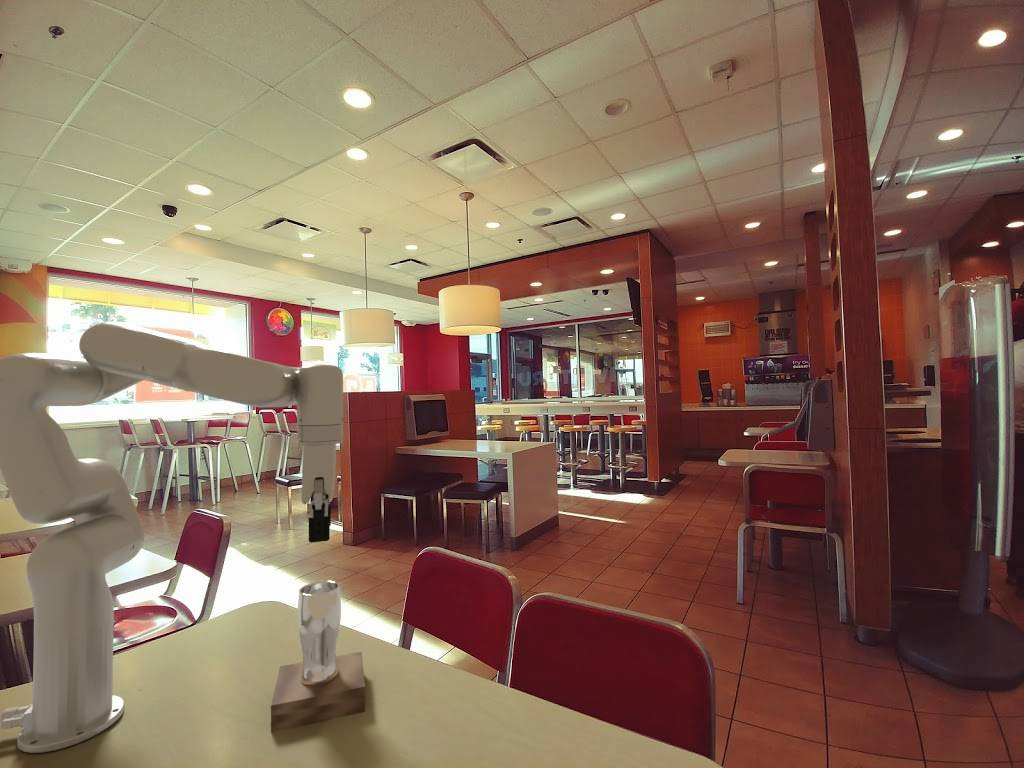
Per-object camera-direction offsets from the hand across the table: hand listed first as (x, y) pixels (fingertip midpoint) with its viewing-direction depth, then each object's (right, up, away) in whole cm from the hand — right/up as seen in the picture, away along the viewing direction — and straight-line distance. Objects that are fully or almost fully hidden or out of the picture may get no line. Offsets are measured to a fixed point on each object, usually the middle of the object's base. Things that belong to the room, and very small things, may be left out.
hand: (320, 533), depth 84 cm
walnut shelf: (0, -28, -1) cm, 28 cm away
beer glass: (0, -24, -1) cm, 24 cm away
